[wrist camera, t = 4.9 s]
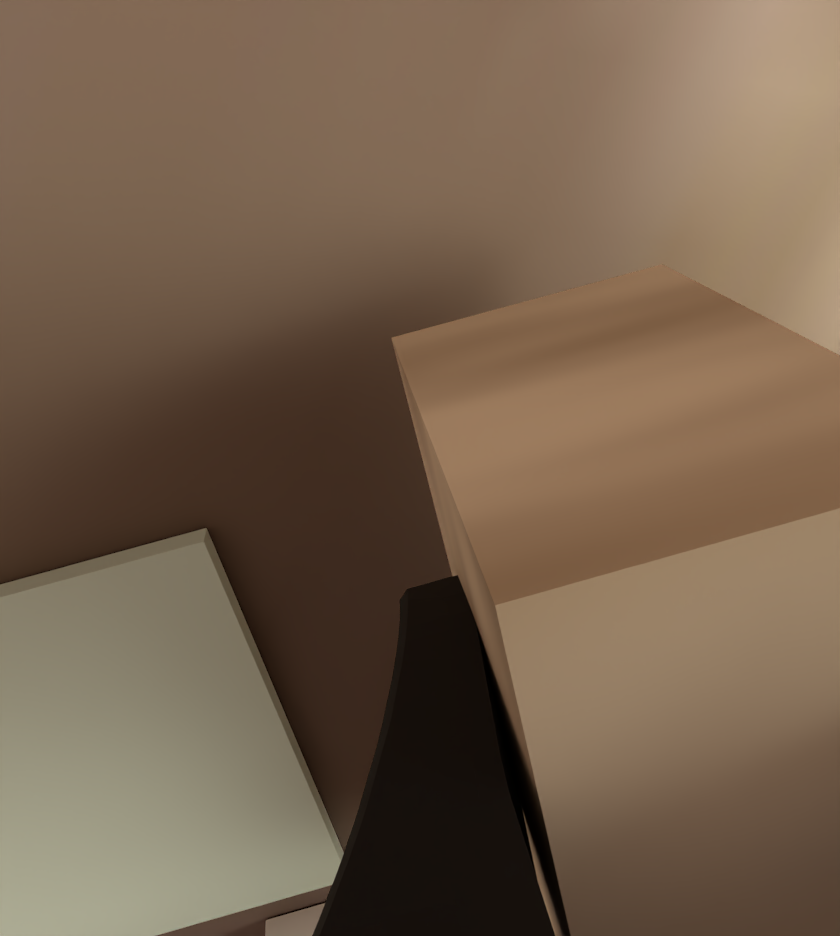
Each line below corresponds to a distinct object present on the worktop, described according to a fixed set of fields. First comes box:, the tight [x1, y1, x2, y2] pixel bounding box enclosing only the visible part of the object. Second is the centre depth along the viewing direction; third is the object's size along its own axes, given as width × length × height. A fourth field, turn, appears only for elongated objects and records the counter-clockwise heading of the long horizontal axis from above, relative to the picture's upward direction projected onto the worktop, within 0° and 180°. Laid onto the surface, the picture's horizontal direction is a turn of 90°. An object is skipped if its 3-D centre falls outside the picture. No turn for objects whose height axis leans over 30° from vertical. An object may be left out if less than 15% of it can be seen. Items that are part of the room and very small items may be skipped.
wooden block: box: [391, 264, 840, 936], centre depth 9 cm, size 10×3×5 cm, turn 13°
